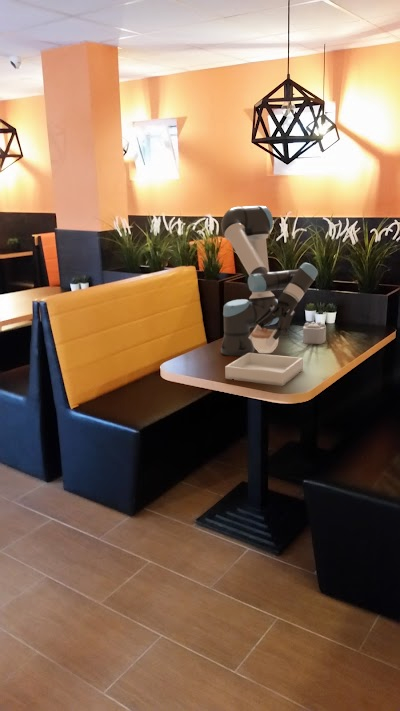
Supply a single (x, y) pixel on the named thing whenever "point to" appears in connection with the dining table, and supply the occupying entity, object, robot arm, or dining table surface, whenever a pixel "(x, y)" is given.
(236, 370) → the cream square tray
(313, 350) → the dining table surface
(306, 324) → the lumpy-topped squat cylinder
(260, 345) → the lidded jar
